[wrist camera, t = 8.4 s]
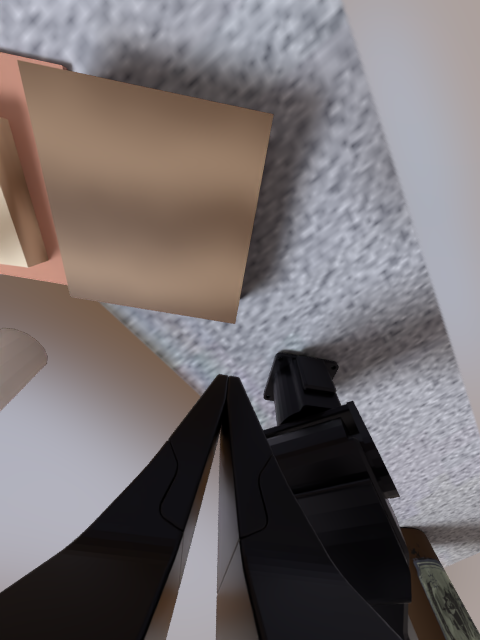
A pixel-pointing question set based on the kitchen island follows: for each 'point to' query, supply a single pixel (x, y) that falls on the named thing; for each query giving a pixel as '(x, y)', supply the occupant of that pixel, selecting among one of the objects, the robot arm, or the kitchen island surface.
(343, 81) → the kitchen island surface
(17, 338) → the shot glass
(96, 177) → the panel
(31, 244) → the cream rectangular block
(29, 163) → the mat
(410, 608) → the olive oil
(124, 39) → the kitchen island surface
